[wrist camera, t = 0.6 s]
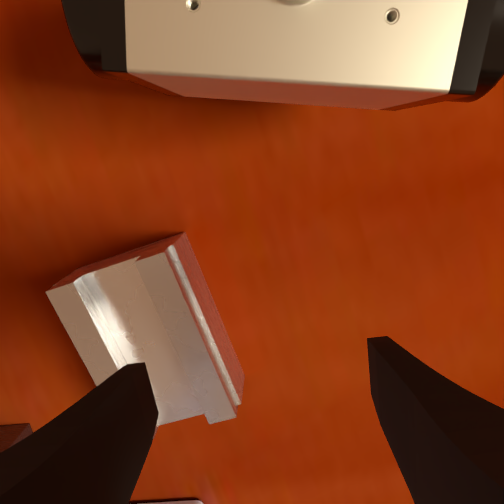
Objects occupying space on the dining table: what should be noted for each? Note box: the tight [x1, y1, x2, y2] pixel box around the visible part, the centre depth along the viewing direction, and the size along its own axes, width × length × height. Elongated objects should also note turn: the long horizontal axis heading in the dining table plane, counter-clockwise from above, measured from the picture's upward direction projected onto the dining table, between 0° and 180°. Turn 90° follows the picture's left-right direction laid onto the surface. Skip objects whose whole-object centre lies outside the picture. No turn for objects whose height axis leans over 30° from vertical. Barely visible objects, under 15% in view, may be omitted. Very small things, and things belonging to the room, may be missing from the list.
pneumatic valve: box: [61, 0, 504, 111], centre depth 13 cm, size 6×12×12 cm, turn 86°
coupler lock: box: [46, 232, 245, 438], centre depth 22 cm, size 10×7×4 cm
